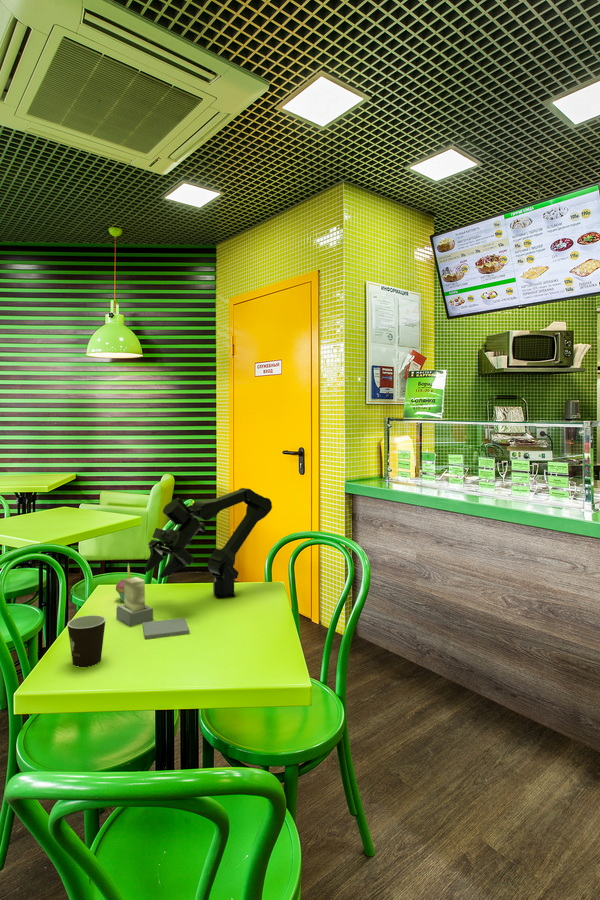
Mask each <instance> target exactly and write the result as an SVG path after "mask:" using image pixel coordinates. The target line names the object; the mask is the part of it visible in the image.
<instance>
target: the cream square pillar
mask: <svg viewBox="0 0 600 900" xmlns="http://www.w3.org/2000/svg"><path fill="white" fill-rule="evenodd" d="M124 579H125V580H124ZM124 579H123V580H124V602H123V603H124V604H123V606H124V607H125V608H127V609H129V610H130V611H132V612H136V611H140V610H143V609H145V605H146V586H145V585H146V581H145V580H144V579H142V578H140V577H138V576H134V577H130V578H129V579H127V578H124Z"/></svg>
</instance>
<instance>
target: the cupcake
mask: <svg viewBox="0 0 600 900" xmlns="http://www.w3.org/2000/svg"><path fill="white" fill-rule="evenodd" d="M130 566H131V565H130V563H129V562H128V563H127V578H124V579H121V580H119V581H118V582H117V583H116V585H115V591H116V592H117V594H118V596H119V597H120V600H121V602H123V603H124V580H125V579H129V578H131V570H130V569H131V568H130Z"/></svg>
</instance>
